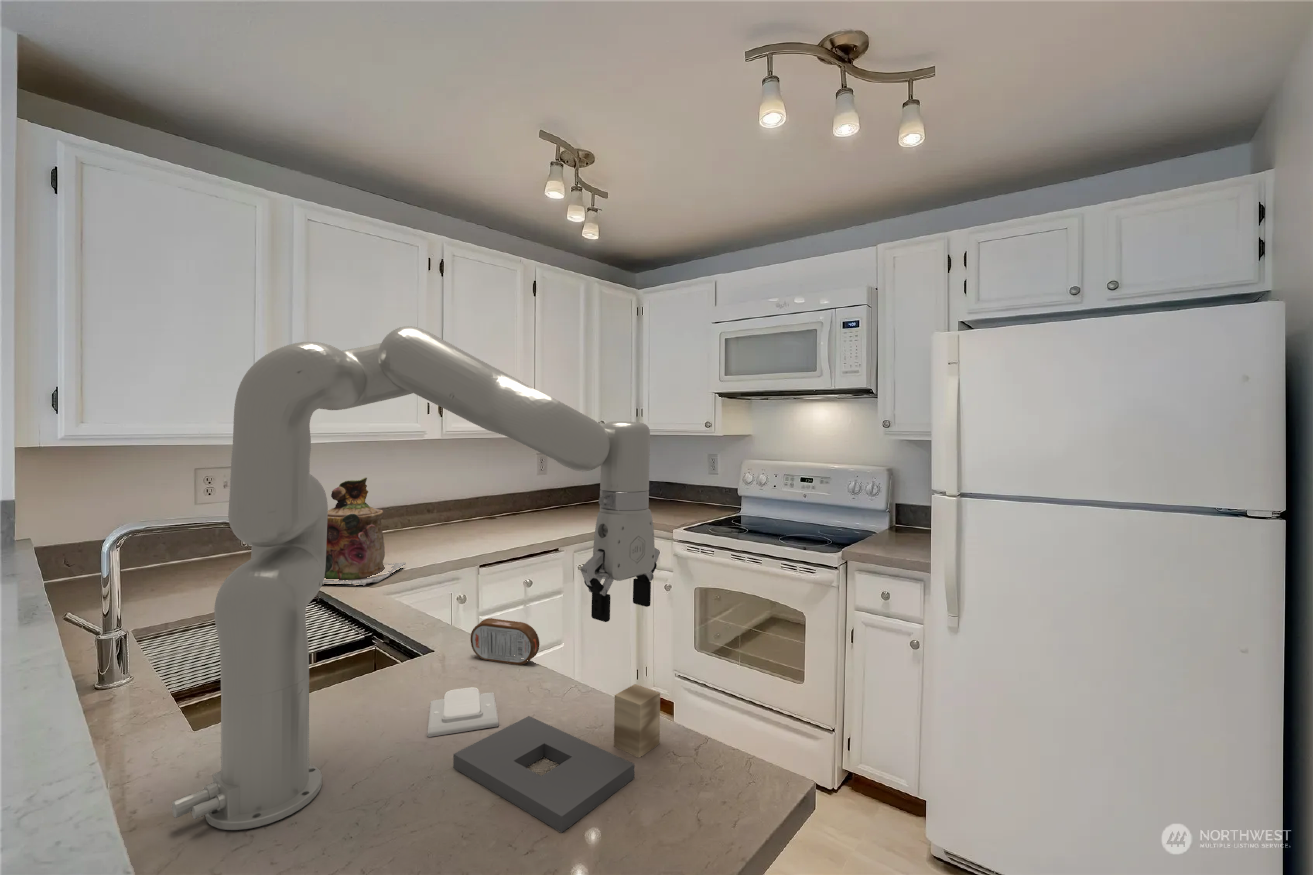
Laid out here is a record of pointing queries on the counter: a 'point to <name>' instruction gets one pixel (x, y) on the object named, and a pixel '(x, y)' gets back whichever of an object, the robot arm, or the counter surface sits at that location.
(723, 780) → the counter surface
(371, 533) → the cookie jar
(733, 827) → the counter surface
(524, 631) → the tin
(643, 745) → the beige rectangular block
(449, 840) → the counter surface
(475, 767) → the grey plate with hole
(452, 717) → the light switch
